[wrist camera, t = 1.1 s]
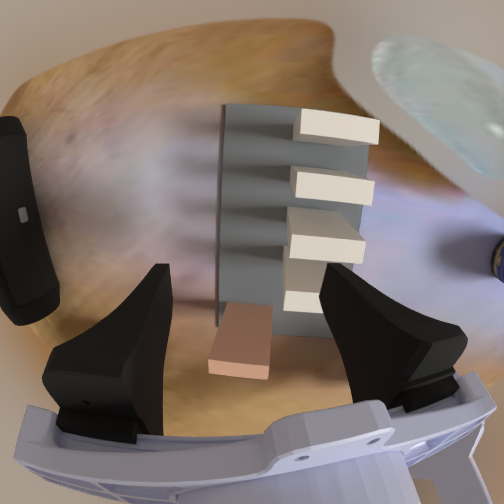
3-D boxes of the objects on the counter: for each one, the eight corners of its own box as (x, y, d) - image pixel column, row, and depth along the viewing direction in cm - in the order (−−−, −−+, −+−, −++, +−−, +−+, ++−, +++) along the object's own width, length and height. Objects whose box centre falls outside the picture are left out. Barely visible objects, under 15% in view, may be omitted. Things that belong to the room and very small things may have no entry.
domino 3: (340, 187, 27) (371, 205, 17) (289, 181, 27) (295, 197, 18) (342, 171, 26) (374, 181, 17) (290, 165, 27) (297, 171, 17)
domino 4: (335, 226, 28) (361, 263, 19) (286, 222, 29) (289, 257, 19) (337, 211, 28) (366, 241, 18) (287, 206, 28) (291, 234, 19)
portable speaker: (78, 294, 35) (35, 331, 25) (37, 296, 36) (-3, 327, 27) (39, 113, 27) (-17, 113, 17) (1, 138, 28) (-48, 145, 19)
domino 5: (330, 264, 30) (350, 314, 20) (282, 260, 30) (283, 310, 20) (332, 249, 29) (355, 295, 20) (283, 245, 29) (285, 290, 20)
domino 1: (271, 318, 32) (267, 379, 23) (227, 313, 33) (208, 373, 23) (272, 306, 32) (269, 366, 22) (227, 301, 32) (208, 359, 23)
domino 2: (344, 146, 26) (378, 144, 16) (292, 140, 26) (300, 133, 16) (345, 130, 25) (379, 120, 16) (293, 124, 25) (301, 108, 16)
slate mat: (336, 336, 33) (337, 338, 32) (219, 327, 34) (218, 328, 33) (369, 118, 25) (370, 118, 24) (226, 104, 26) (225, 103, 25)
